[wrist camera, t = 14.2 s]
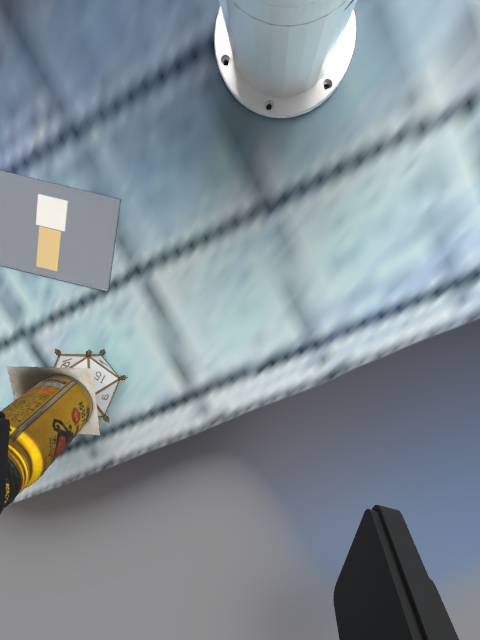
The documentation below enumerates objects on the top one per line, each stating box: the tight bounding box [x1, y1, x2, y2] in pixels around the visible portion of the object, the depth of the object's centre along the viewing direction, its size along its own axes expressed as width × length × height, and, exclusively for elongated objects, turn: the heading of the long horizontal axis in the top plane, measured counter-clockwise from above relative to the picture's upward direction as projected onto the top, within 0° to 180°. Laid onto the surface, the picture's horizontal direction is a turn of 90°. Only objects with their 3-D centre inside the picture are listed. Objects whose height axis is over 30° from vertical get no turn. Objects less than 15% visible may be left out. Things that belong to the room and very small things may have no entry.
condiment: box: [1, 367, 100, 508], centre depth 33 cm, size 7×8×12 cm
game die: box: [54, 349, 128, 422], centre depth 42 cm, size 9×8×10 cm
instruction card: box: [0, 170, 121, 291], centre depth 42 cm, size 10×14×1 cm
